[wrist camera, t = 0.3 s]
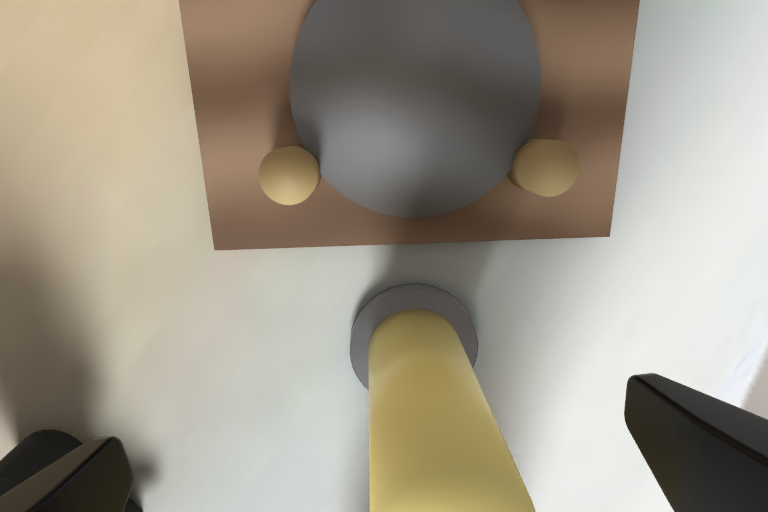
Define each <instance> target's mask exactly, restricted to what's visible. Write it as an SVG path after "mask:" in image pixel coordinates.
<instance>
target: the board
mask: <svg viewBox="0 0 768 512" xmlns="http://www.w3.org/2000/svg"><path fill="white" fill-rule="evenodd" d="M639 1H640V0H179V4H180V11H181V18H182V25H183V32H184V39H185V46H186V53H187V60H188V67H189V74H190V81H191V88H192V95H193V102H194V109H195V116H196V123H197V130H198V137H199V144H200V151H201V158H202V165H203V172H204V179H205V186H206V193H207V200H208V207H209V214H210V221H211V228H212V235H213V242H214V249H215V250H238V249H267V248H295V247H324V246H353V245H382V244H410V243H439V242H468V241H497V240H525V239H554V238H583V237H610V229H611V221H612V213H613V205H614V197H615V190H616V182H617V174H618V166H619V158H620V150H621V143H622V135H623V127H624V119H625V111H626V103H627V95H628V88H629V80H630V72H631V64H632V56H633V48H634V40H635V33H636V25H637V17H638V9H639Z"/></svg>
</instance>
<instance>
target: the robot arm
mask: <svg viewBox="0 0 768 512" xmlns="http://www.w3.org/2000/svg"><path fill="white" fill-rule="evenodd" d="M624 416H625V422H626V425H627V427H628V429H629V431H630V433H631V435H632V437H633V439H634V440H635V442H636V444H637V446H638V448H639V449H640V451H641V453H642V455H643V457H644V458H645V460H646V462H647V464H648V466H649V467H650V469H651V471H652V473H653V475H654V477H655V478H656V480H657V482H658V484H659V486H660V487H661V489H662V491H663V493H664V495H665V496H666V498H667V500H668V502H669V503H670V505H671V507H672V508H673V510H674V512H768V420H767V419H765V418H762V417H760V416H757V415H755V414H753V413H750V412H748V411H746V410H743V409H741V408H738V407H736V406H733V405H731V404H729V403H726V402H724V401H721V400H719V399H716V398H714V397H712V396H709V395H707V394H704V393H702V392H699V391H697V390H695V389H692V388H690V387H687V386H685V385H682V384H680V383H677V382H675V381H673V380H670V379H668V378H665V377H663V376H660V375H658V374H654V373H649V374H640V375H633V376H631V377H630V378H629V379H628V382H627V390H626V400H625V410H624ZM132 485H133V471H132V468H131V465H130V463H129V460H128V457H127V455H126V452H125V450H124V447H123V444H122V442H121V440H120V439H119V438H117V437H115V436H109V437H101V438H94V439H91V440H88V441H87V442H85V443H84V444H82V445H80V446H79V447H77V448H76V449H74V450H73V451H71V452H70V453H68V454H66V455H65V456H63V457H62V458H60V459H59V460H57V461H55V462H54V463H52V464H51V465H49V466H48V467H46V468H45V469H43V470H41V471H40V472H38V473H37V474H35V475H34V476H32V477H30V478H29V479H27V480H26V481H24V482H23V483H21V484H20V485H18V486H16V487H15V488H13V489H12V490H10V491H9V492H7V493H5V494H4V495H2V496H1V497H0V512H123V510H124V508H125V505H126V502H127V499H128V497H129V494H130V491H131V488H132Z"/></svg>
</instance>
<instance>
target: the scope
mask: <svg viewBox="0 0 768 512" xmlns="http://www.w3.org/2000/svg"><path fill="white" fill-rule="evenodd" d="M80 445H82V444H81V443H80V441H78V440H77V439H75V438H74V437H72V436H71V435H69V434H66V433H64V432H60V431H55V430H42V431H38V432H34V433H33V434H31V435H29V436H28V437H26V438H25V439H24V440H23V441H21V442H20V443H19V444H18V445H17V446H16V447H15V448H14V449H13V450H12V451H10V452H9V453H8V454H7V455H6V456H5V457H4V458H3V459H2V460H1V461H0V497H1V496H2V495H4V494H5V493H7V492H9V491H10V490H12V489H13V488H15V487H16V486H18V485H20V484H21V483H23V482H24V481H26V480H27V479H29V478H30V477H32V476H34V475H35V474H37V473H38V472H40V471H41V470H43V469H45V468H46V467H48V466H49V465H51V464H52V463H54V462H55V461H57V460H59V459H60V458H62V457H63V456H65V455H66V454H68V453H70V452H71V451H73V450H74V449H76V448H77V447H79V446H80ZM123 512H142V511H141V510H140V509H139V507H138V506H137V505H136V504H135V503H134V501H133V500H132V499H131V498H130V497H128V499H127V502H126V505H125V508H124V510H123Z"/></svg>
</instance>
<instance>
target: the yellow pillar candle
mask: <svg viewBox="0 0 768 512" xmlns="http://www.w3.org/2000/svg"><path fill="white" fill-rule="evenodd" d="M477 351H478V340H477V334H476V331H475V328H474V325H473V323H472V321H471V319H470V317H469V315H468V314H467V312H466V310H465V309H464V307H463V306H462V305H461V304H460V303H459V302H458V301H457V300H456V299H455V298H454V297H453V296H451V295H450V294H448V293H447V292H445V291H443V290H441V289H438V288H436V287H433V286H429V285H423V284H406V285H400V286H396V287H393V288H390V289H387V290H385V291H383V292H381V293H380V294H378V295H377V296H375V297H374V298H372V299H371V300H370V301H369V302H368V303H367V304H366V305H365V306H364V307H363V309H362V310H361V311H360V313H359V314H358V316H357V318H356V320H355V322H354V325H353V328H352V333H351V341H350V357H351V363H352V366H353V369H354V371H355V374H356V376H357V377H358V379H359V380H360V382H361V383H362V384H363V385H364V387H365V388H367V389H368V390H369V469H370V512H535V509H534V506H533V503H532V500H531V498H530V496H529V494H528V492H527V489H526V487H525V485H524V483H523V480H522V478H521V476H520V474H519V471H518V469H517V467H516V465H515V462H514V460H513V458H512V456H511V453H510V451H509V449H508V447H507V444H506V442H505V440H504V438H503V435H502V433H501V431H500V429H499V427H498V424H497V422H496V420H495V418H494V415H493V413H492V411H491V409H490V406H489V404H488V402H487V400H486V397H485V395H484V393H483V391H482V388H481V386H480V384H479V382H478V379H477V377H476V375H475V373H474V371H473V367H474V364H475V361H476V357H477Z"/></svg>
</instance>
